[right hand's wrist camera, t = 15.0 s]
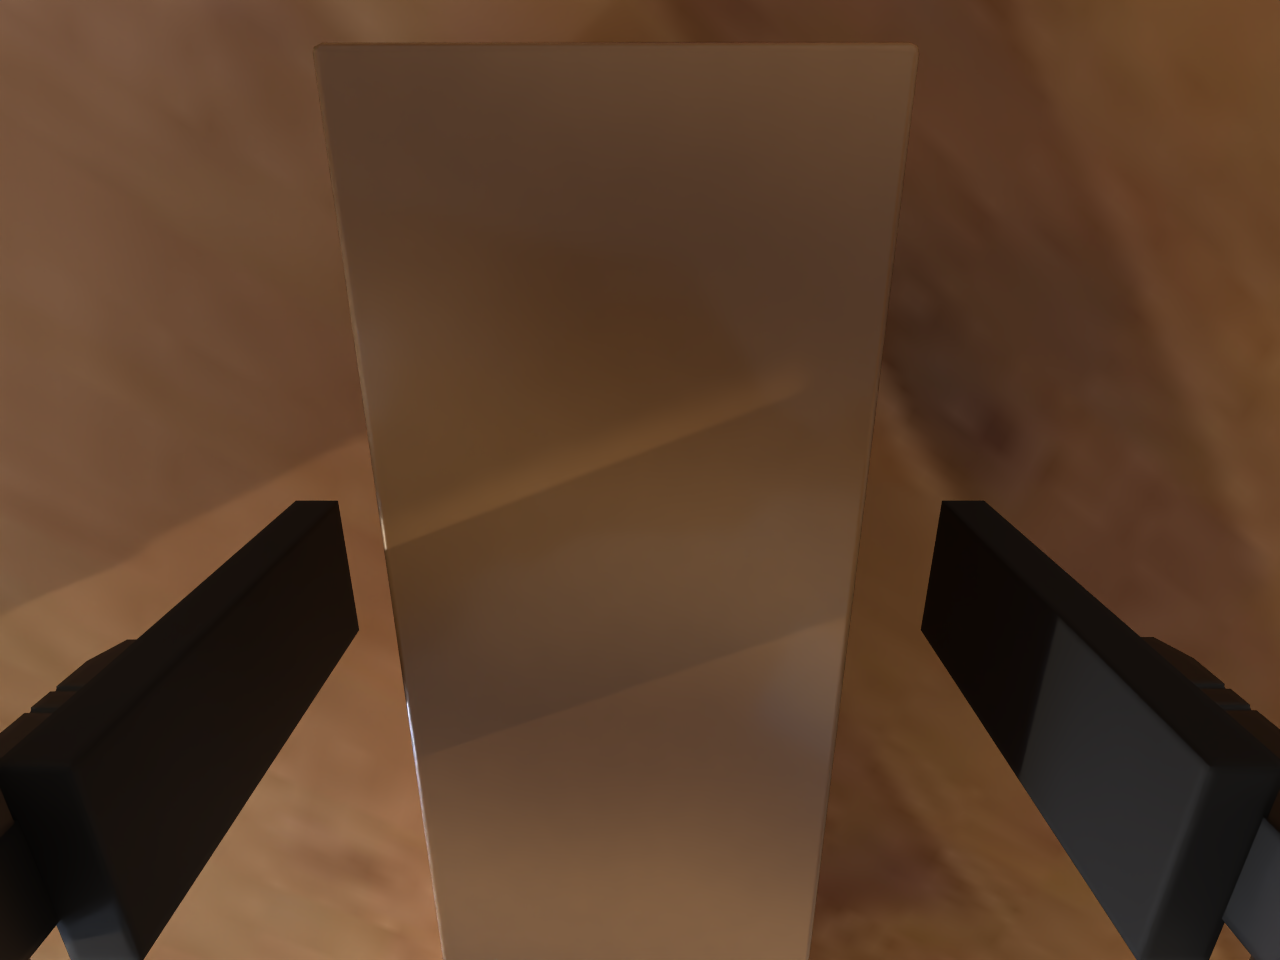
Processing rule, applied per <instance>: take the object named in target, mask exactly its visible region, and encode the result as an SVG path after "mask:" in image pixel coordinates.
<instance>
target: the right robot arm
mask: <svg viewBox="0 0 1280 960" xmlns="http://www.w3.org/2000/svg"><path fill="white" fill-rule="evenodd" d="M358 631H359V626H358V620H357V614H356V608H355V602H354V596H353V590H352V584H351V578H350V572H349V565H348V559H347V553H346V547H345V541H344V535H343V529H342V523H341V517H340V511H339V505H338V501H295V502H294V503H293V504H292V505H291V506H289V507H288V508H287V509H286V510H285V511H284V512H283V513H281V514H280V515H279V516H278V517H277V518H276V519H274V520H273V521H272V522H271V523H270V524H269V525H268V526H266V527H265V528H264V529H263V530H262V531H261V532H260V533H258V534H257V535H256V536H255V537H254V538H253V539H252V540H250V541H249V542H248V543H247V544H246V545H245V546H244V547H242V548H241V549H240V550H239V551H238V552H237V553H235V554H234V555H233V556H232V557H231V558H230V559H229V560H227V561H226V562H225V563H224V564H223V565H222V566H221V567H219V568H218V569H217V570H216V571H215V572H214V573H213V574H211V575H210V576H209V577H208V578H207V579H206V580H205V581H203V582H202V583H201V584H200V585H199V586H198V587H197V588H195V589H194V590H193V591H192V592H191V593H190V594H188V595H187V596H186V597H185V598H184V599H183V600H182V601H180V602H179V603H178V604H177V605H176V606H175V607H174V608H172V609H171V610H170V611H169V612H168V613H167V614H166V615H164V616H163V617H162V618H161V619H160V620H159V621H158V622H156V623H155V624H154V625H153V626H152V627H151V628H149V629H148V630H147V631H146V632H145V633H144V634H143V635H141V636H140V637H139V638H138V639H137V640H126V641H124V642H122V643H120V644H118V645H116V646H114V647H112V648H111V649H109V650H107V651H105V652H103V653H101V654H99V655H97V656H96V657H94V658H92V659H90V660H88V661H86V662H85V663H84V664H83V665H82V666H80V667H79V668H78V669H77V670H76V671H74V672H73V673H72V674H71V675H70V676H68V677H67V678H66V679H65V680H64V681H62V682H61V683H60V684H59V685H58V686H57V689H56V691H55V692H49V693H48V694H47V695H46V696H44V697H43V698H42V699H41V700H40V701H38V702H37V703H36V704H35V705H34V706H32V707H31V712H30V713H24V714H23V715H22V716H20V717H19V718H18V719H17V720H16V721H14V722H13V723H12V724H11V725H10V726H8V727H7V728H6V729H5V730H4V731H2V732H1V733H0V960H30V957H31V956H32V955H33V953H34V952H35V951H36V950H37V948H38V947H39V946H40V945H41V944H42V942H43V941H44V940H45V939H46V937H47V936H48V935H49V934H50V932H51V931H52V930H53V929H54V927H55V926H56V925H57V927H58V930H59V932H60V935H61V937H62V939H63V942H64V944H65V947H66V949H67V951H68V954H69V956H70V959H71V960H143V959H144V958H145V956H146V955H147V953H148V952H149V950H150V949H151V947H152V946H153V944H154V943H155V941H156V940H157V938H158V936H159V935H160V933H161V932H162V930H163V929H164V927H165V926H166V924H167V923H168V921H169V920H170V918H171V917H172V915H173V914H174V912H175V911H176V909H177V907H178V906H179V904H180V903H181V901H182V900H183V898H184V897H185V895H186V894H187V892H188V891H189V889H190V888H191V886H192V885H193V883H194V881H195V880H196V878H197V877H198V875H199V874H200V872H201V871H202V869H203V868H204V866H205V865H206V863H207V862H208V860H209V859H210V857H211V856H212V854H213V852H214V851H215V849H216V848H217V846H218V845H219V843H220V842H221V840H222V839H223V837H224V836H225V834H226V833H227V831H228V830H229V828H230V826H231V825H232V823H233V822H234V820H235V819H236V817H237V816H238V814H239V813H240V811H241V810H242V808H243V807H244V805H245V804H246V802H247V800H248V799H249V797H250V796H251V794H252V793H253V791H254V790H255V788H256V787H257V785H258V784H259V782H260V781H261V779H262V778H263V776H264V775H265V773H266V771H267V770H268V768H269V767H270V765H271V764H272V762H273V761H274V759H275V758H276V756H277V755H278V753H279V752H280V750H281V749H282V747H283V745H284V744H285V742H286V741H287V739H288V738H289V736H290V735H291V733H292V732H293V730H294V729H295V727H296V726H297V724H298V723H299V721H300V720H301V718H302V716H303V715H304V713H305V712H306V710H307V709H308V707H309V706H310V704H311V703H312V701H313V700H314V698H315V697H316V695H317V694H318V692H319V690H320V689H321V687H322V686H323V684H324V683H325V681H326V680H327V678H328V677H329V675H330V674H331V672H332V671H333V669H334V668H335V666H336V664H337V663H338V661H339V660H340V658H341V657H342V655H343V654H344V652H345V651H346V649H347V648H348V646H349V645H350V643H351V642H352V640H353V639H354V637H355V635H356V634H357V632H358ZM921 631H922V632H923V634H924V635H925V637H926V639H927V640H928V642H929V643H930V645H931V646H932V648H933V649H934V651H935V652H936V654H937V655H938V657H939V658H940V660H941V661H942V663H943V665H944V666H945V668H946V669H947V671H948V672H949V674H950V675H951V677H952V678H953V680H954V681H955V683H956V684H957V686H958V687H959V689H960V690H961V692H962V694H963V695H964V697H965V698H966V700H967V701H968V703H969V704H970V706H971V707H972V709H973V710H974V712H975V713H976V715H977V716H978V718H979V720H980V721H981V723H982V724H983V726H984V727H985V729H986V730H987V732H988V733H989V735H990V736H991V738H992V739H993V741H994V742H995V744H996V746H997V747H998V749H999V750H1000V752H1001V753H1002V755H1003V756H1004V758H1005V759H1006V761H1007V762H1008V764H1009V765H1010V767H1011V768H1012V770H1013V771H1014V773H1015V775H1016V776H1017V778H1018V779H1019V781H1020V782H1021V784H1022V785H1023V787H1024V788H1025V790H1026V791H1027V793H1028V794H1029V796H1030V797H1031V799H1032V801H1033V802H1034V804H1035V805H1036V807H1037V808H1038V810H1039V811H1040V813H1041V814H1042V816H1043V817H1044V819H1045V820H1046V822H1047V823H1048V825H1049V826H1050V828H1051V830H1052V831H1053V833H1054V834H1055V836H1056V837H1057V839H1058V840H1059V842H1060V843H1061V845H1062V846H1063V848H1064V849H1065V851H1066V852H1067V854H1068V856H1069V857H1070V859H1071V860H1072V862H1073V863H1074V865H1075V866H1076V868H1077V869H1078V871H1079V872H1080V874H1081V875H1082V877H1083V878H1084V880H1085V882H1086V883H1087V885H1088V886H1089V888H1090V889H1091V891H1092V892H1093V894H1094V895H1095V897H1096V898H1097V900H1098V901H1099V903H1100V904H1101V906H1102V907H1103V909H1104V911H1105V912H1106V914H1107V915H1108V917H1109V918H1110V920H1111V921H1112V923H1113V924H1114V926H1115V927H1116V929H1117V930H1118V932H1119V933H1120V935H1121V937H1122V938H1123V940H1124V941H1125V943H1126V944H1127V946H1128V947H1129V949H1130V950H1131V952H1132V953H1133V955H1134V956H1135V958H1136V959H1137V960H1209V959H1210V956H1211V954H1212V951H1213V949H1214V947H1215V944H1216V942H1217V939H1218V937H1219V934H1220V932H1221V930H1222V927H1223V925H1224V922H1225V923H1226V925H1227V926H1228V927H1229V928H1230V929H1231V931H1232V932H1233V933H1234V934H1235V936H1236V937H1237V938H1238V939H1239V941H1240V942H1241V943H1242V944H1243V946H1244V947H1245V948H1246V949H1247V950H1248V952H1249V953H1250V954H1251V957H1250V960H1280V729H1278V728H1277V727H1276V726H1275V725H1274V724H1272V723H1271V722H1270V721H1269V720H1268V719H1266V718H1265V717H1264V716H1263V715H1262V714H1260V713H1259V712H1258V711H1257V710H1251V709H1250V705H1249V704H1248V703H1247V702H1246V701H1245V700H1243V699H1242V698H1241V697H1240V696H1239V695H1237V694H1236V693H1235V692H1234V691H1233V690H1231V689H1225V687H1224V683H1223V682H1222V681H1220V680H1219V679H1218V678H1217V677H1216V676H1214V675H1213V674H1212V673H1211V672H1210V671H1208V670H1207V669H1206V668H1205V667H1203V666H1202V665H1201V664H1200V663H1199V662H1197V661H1196V660H1195V659H1194V658H1192V657H1190V656H1188V655H1186V654H1184V653H1182V652H1181V651H1179V650H1177V649H1175V648H1173V647H1171V646H1169V645H1167V644H1165V643H1164V642H1162V641H1160V640H1158V639H1156V638H1154V637H1140V636H1139V635H1137V634H1136V633H1135V632H1134V631H1133V630H1132V629H1130V628H1129V627H1128V626H1127V625H1126V624H1125V623H1124V622H1122V621H1121V620H1120V619H1119V618H1118V617H1117V616H1116V615H1114V614H1113V613H1112V612H1111V611H1110V610H1109V609H1108V608H1106V607H1105V606H1104V605H1103V604H1102V603H1101V602H1100V601H1098V600H1097V599H1096V598H1095V597H1094V596H1093V595H1092V594H1090V593H1089V592H1088V591H1087V590H1086V589H1085V588H1083V587H1082V586H1081V585H1080V584H1079V583H1078V582H1077V581H1075V580H1074V579H1073V578H1072V577H1071V576H1070V575H1069V574H1067V573H1066V572H1065V571H1064V570H1063V569H1062V568H1061V567H1059V566H1058V565H1057V564H1056V563H1055V562H1054V561H1053V560H1051V559H1050V558H1049V557H1048V556H1047V555H1046V554H1044V553H1043V552H1042V551H1041V550H1040V549H1039V548H1038V547H1036V546H1035V545H1034V544H1033V543H1032V542H1031V541H1030V540H1028V539H1027V538H1026V537H1025V536H1024V535H1023V534H1022V533H1020V532H1019V531H1018V530H1017V529H1016V528H1015V527H1014V526H1012V525H1011V524H1010V523H1009V522H1008V521H1007V520H1006V519H1004V518H1003V517H1002V516H1001V515H1000V514H999V513H997V512H996V511H995V510H994V509H993V508H992V507H991V506H989V505H988V504H987V503H986V502H985V501H942V505H941V511H940V517H939V523H938V529H937V535H936V541H935V547H934V553H933V559H932V565H931V571H930V577H929V584H928V590H927V596H926V602H925V608H924V614H923V620H922V626H921Z"/></svg>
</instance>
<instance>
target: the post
mask: <svg viewBox="0 0 1280 960" xmlns="http://www.w3.org/2000/svg"><path fill="white" fill-rule="evenodd" d="M313 58H314V65H315V72H316V79H317V86H318V93H319V100H320V107H321V114H322V121H323V128H324V135H325V142H326V148H327V155H328V162H329V169H330V176H331V183H332V190H333V197H334V204H335V211H336V218H337V225H338V232H339V239H340V246H341V253H342V260H343V267H344V274H345V281H346V288H347V295H348V302H349V309H350V316H351V322H352V329H353V336H354V343H355V350H356V357H357V364H358V371H359V378H360V385H361V392H362V399H363V406H364V413H365V420H366V427H367V434H368V441H369V448H370V455H371V462H372V469H373V476H374V483H375V489H376V496H377V503H378V510H379V517H380V524H381V531H382V538H383V545H384V552H385V559H386V566H387V573H388V580H389V587H390V594H391V601H392V608H393V615H394V622H395V629H396V636H397V643H398V650H399V656H400V663H401V670H402V677H403V684H404V691H405V698H406V705H407V712H408V719H409V726H410V733H411V740H412V747H413V754H414V761H415V768H416V775H417V782H418V789H419V796H420V803H421V810H422V817H423V823H424V830H425V837H426V844H427V851H428V858H429V865H430V872H431V879H432V886H433V893H434V900H435V907H436V914H437V921H438V928H439V935H440V942H441V949H442V956H443V960H809V956H810V948H811V940H812V931H813V923H814V915H815V907H816V899H817V890H818V882H819V874H820V866H821V857H822V849H823V841H824V833H825V824H826V816H827V808H828V800H829V792H830V783H831V775H832V767H833V759H834V750H835V742H836V734H837V726H838V717H839V709H840V701H841V693H842V685H843V676H844V668H845V660H846V652H847V643H848V635H849V627H850V619H851V610H852V602H853V594H854V586H855V578H856V569H857V561H858V553H859V545H860V536H861V528H862V520H863V512H864V503H865V495H866V487H867V479H868V471H869V462H870V454H871V446H872V438H873V429H874V421H875V413H876V405H877V396H878V388H879V380H880V372H881V364H882V355H883V347H884V339H885V331H886V322H887V314H888V306H889V298H890V290H891V281H892V273H893V265H894V257H895V248H896V240H897V232H898V224H899V215H900V207H901V199H902V191H903V183H904V174H905V166H906V158H907V150H908V141H909V133H910V125H911V117H912V108H913V100H914V92H915V84H916V76H917V67H918V59H919V51H918V46H916V45H914V44H912V43H910V42H628V43H321V44H319V45H317V46H315V47H314V50H313Z"/></svg>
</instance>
